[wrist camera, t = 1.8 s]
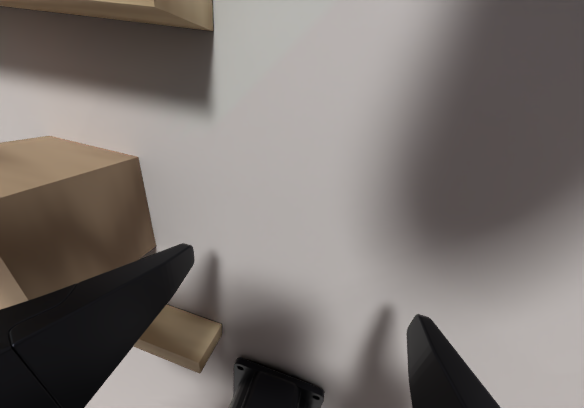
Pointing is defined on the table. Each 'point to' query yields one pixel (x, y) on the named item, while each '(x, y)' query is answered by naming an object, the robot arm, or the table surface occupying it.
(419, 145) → the table surface
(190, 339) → the lane walls
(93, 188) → the block
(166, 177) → the table surface
